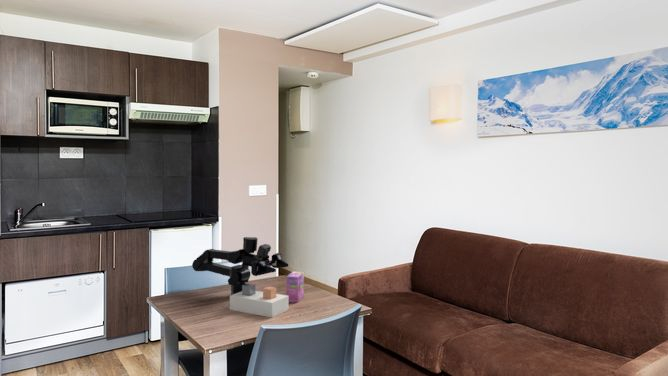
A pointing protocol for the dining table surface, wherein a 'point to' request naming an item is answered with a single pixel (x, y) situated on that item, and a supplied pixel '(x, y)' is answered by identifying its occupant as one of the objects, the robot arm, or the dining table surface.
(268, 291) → the peach square block
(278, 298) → the white rectangular block
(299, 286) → the box
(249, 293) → the metallic grey block
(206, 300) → the dining table surface
